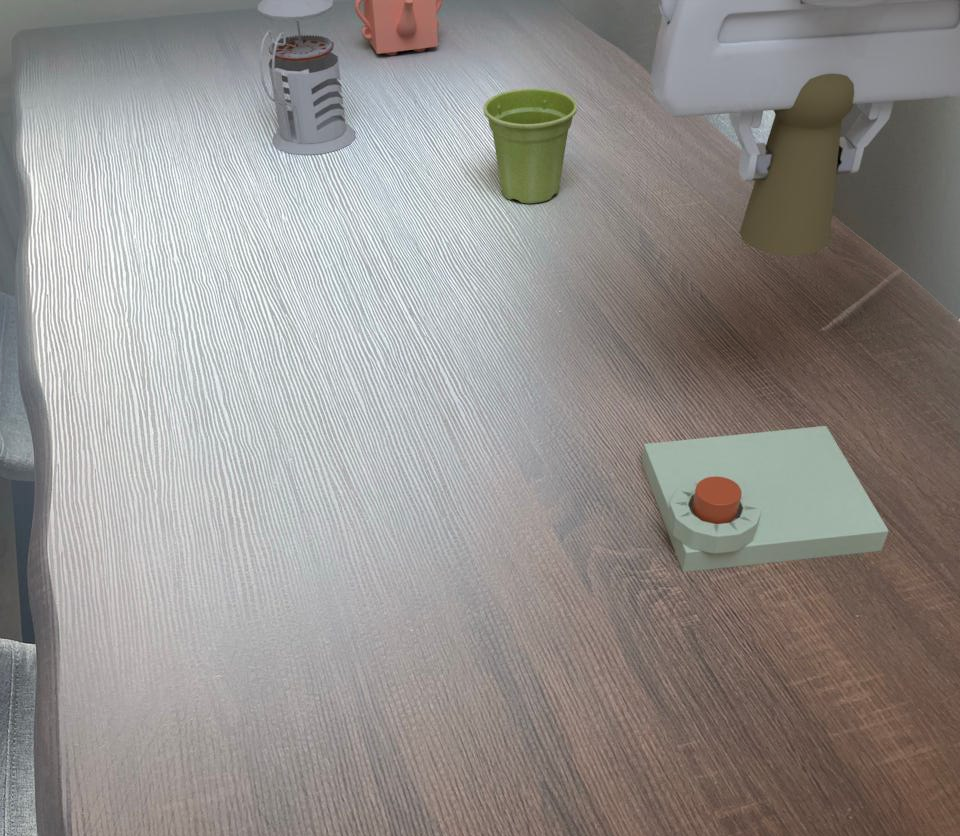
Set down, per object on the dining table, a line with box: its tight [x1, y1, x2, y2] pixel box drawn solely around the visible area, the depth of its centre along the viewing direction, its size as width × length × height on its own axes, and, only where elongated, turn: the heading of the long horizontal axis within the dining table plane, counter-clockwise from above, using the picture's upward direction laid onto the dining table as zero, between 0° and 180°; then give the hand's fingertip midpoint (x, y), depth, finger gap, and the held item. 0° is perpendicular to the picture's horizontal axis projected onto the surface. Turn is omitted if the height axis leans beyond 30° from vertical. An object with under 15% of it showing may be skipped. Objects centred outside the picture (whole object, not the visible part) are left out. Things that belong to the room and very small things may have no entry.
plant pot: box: [482, 88, 578, 204], centre depth 106 cm, size 9×9×9 cm
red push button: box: [692, 476, 742, 524], centre depth 68 cm, size 3×3×2 cm
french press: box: [257, 0, 356, 156], centre depth 110 cm, size 10×12×25 cm
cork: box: [739, 74, 855, 257], centre depth 66 cm, size 6×6×11 cm
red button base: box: [641, 425, 890, 573], centre depth 72 cm, size 14×12×4 cm
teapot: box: [354, 0, 443, 56], centre depth 136 cm, size 12×15×8 cm
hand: (797, 173), depth 67 cm, fingers closed on cork, 4 cm apart
